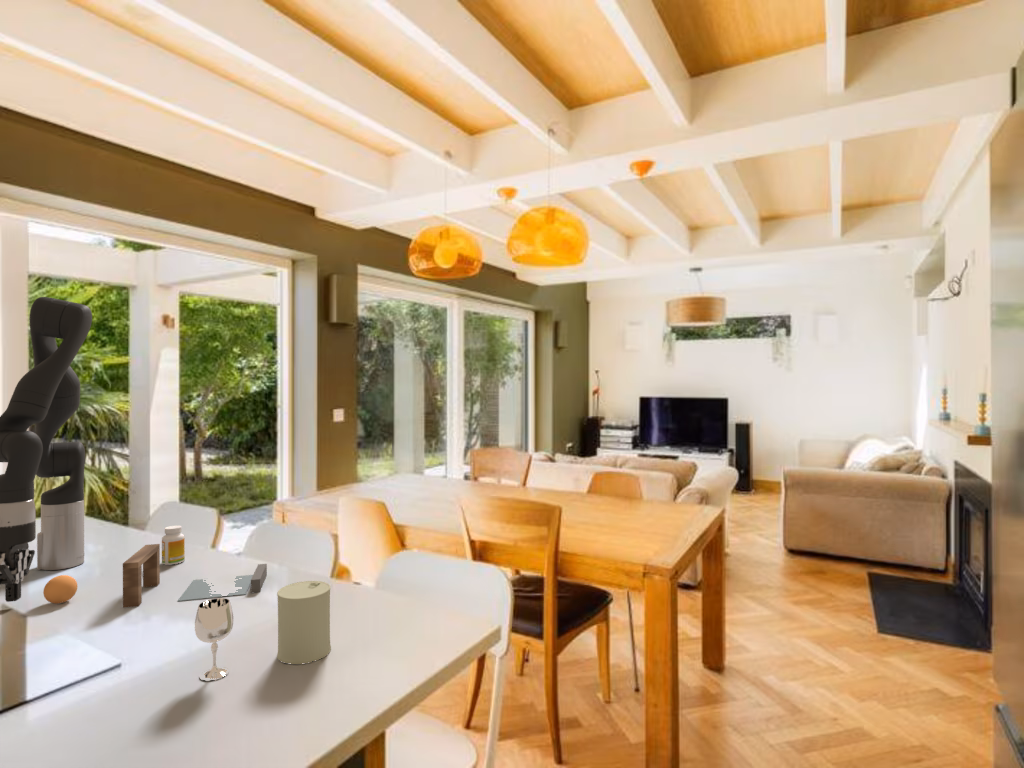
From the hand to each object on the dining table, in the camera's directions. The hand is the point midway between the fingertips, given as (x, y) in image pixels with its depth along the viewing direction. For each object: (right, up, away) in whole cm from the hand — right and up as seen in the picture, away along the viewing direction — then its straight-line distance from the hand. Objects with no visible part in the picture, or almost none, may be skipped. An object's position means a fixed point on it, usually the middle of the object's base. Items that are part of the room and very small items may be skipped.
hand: (13, 600), depth 125 cm
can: (+72, -2, -21) cm, 75 cm away
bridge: (+24, -2, +7) cm, 25 cm away
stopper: (+48, -1, +14) cm, 50 cm away
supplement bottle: (+17, -2, +31) cm, 35 cm away
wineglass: (+59, -2, -29) cm, 66 cm away
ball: (+8, +1, +3) cm, 9 cm away
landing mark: (+39, -2, +12) cm, 41 cm away
